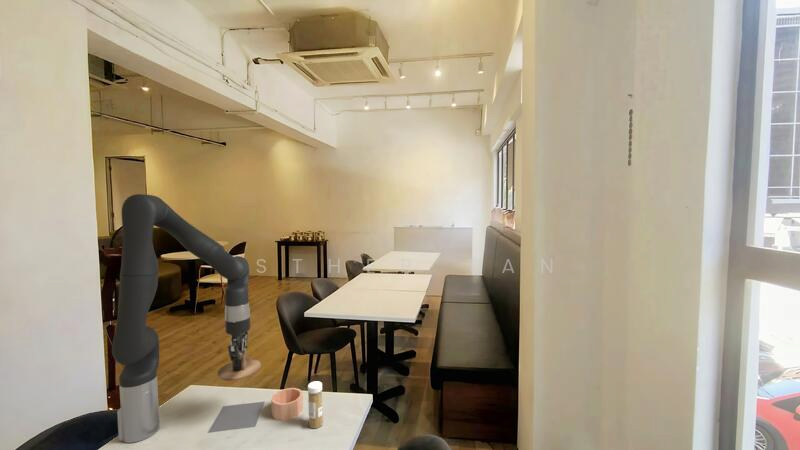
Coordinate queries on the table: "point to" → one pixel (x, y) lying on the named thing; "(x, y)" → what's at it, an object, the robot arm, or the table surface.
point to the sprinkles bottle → (315, 404)
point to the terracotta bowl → (287, 404)
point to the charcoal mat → (237, 417)
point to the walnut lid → (247, 370)
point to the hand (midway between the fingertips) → (239, 367)
